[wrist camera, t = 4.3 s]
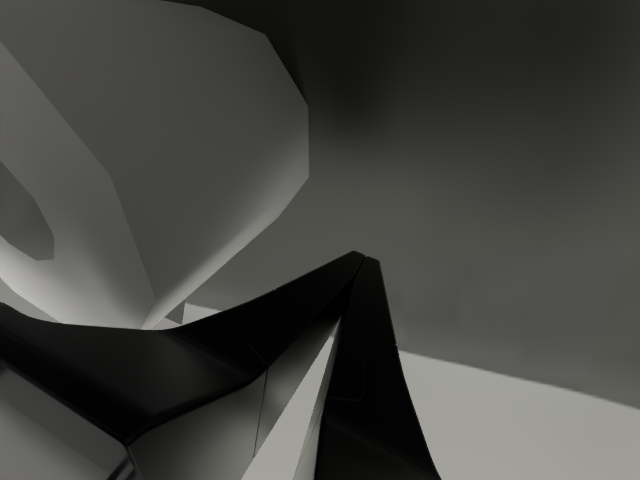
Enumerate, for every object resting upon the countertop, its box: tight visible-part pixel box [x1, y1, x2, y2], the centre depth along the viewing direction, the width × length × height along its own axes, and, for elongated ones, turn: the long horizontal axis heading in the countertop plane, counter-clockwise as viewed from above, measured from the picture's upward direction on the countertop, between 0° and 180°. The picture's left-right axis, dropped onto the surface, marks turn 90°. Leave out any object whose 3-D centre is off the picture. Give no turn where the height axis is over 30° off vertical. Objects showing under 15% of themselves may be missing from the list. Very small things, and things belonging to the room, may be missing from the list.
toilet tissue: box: [0, 0, 309, 330], centre depth 12 cm, size 9×13×9 cm
